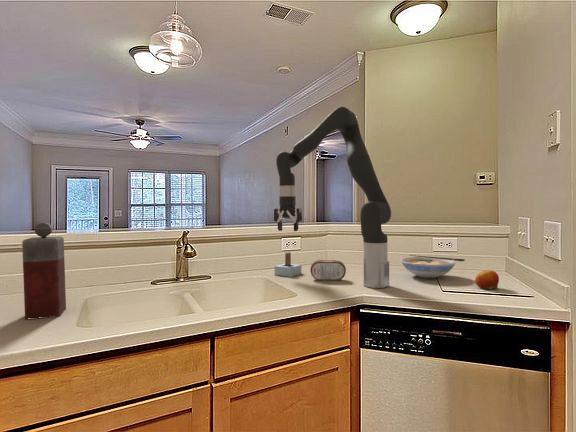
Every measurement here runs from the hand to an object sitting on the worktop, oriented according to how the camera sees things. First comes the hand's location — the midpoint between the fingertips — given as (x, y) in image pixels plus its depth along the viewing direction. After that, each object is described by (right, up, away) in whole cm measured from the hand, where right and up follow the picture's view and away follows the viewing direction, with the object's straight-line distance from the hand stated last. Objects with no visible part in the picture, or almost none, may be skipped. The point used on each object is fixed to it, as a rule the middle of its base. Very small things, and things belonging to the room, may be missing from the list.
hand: (287, 230), depth 170 cm
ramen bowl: (+61, -20, -9) cm, 65 cm away
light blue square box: (0, -20, +1) cm, 20 cm away
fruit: (+75, -21, -31) cm, 84 cm away
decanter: (-74, -23, -56) cm, 96 cm away
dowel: (0, -20, +1) cm, 20 cm away
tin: (+17, -21, -13) cm, 30 cm away
